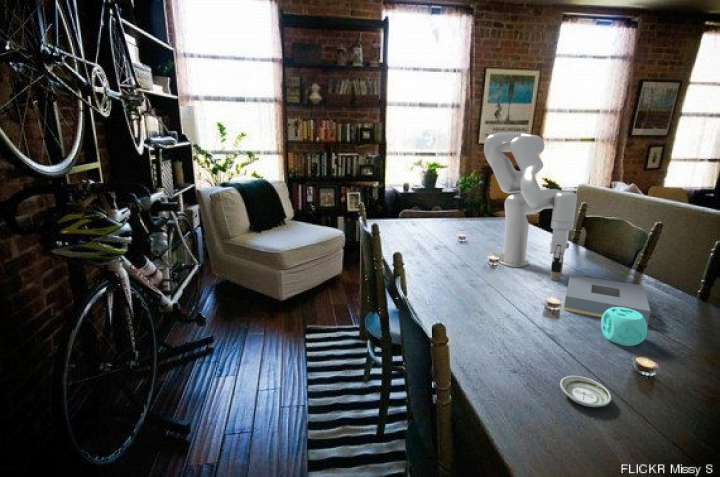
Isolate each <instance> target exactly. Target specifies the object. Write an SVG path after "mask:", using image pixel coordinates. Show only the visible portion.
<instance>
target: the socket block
mask: <svg viewBox="0 0 720 477" xmlns="http://www.w3.org/2000/svg"><path fill="white" fill-rule="evenodd" d="M646 294H647V293H646V290H645V287H644V285H641V284H640V285H639V284H635V283H626V282H622V281H621V282H620V281H613V280H608V279H601V278H600V279H599V278H594V277H586V276H581V275H575V274H570V275H569V279H568V284H567V288H566V294H565V299H564V306H563V307H564V308H563V310H564V311H567V312H570V313H571V312H572V313H576V314H577V313H578V314H582V315H588V316H593V317H597V318H602V315H603V313H604V312H605V311H606V310H608V309H609V308H612V307H624V308H628V309H632V310H635V311H637V312H639V313H640V314H642V316H643V317H644V318H645V321H646V324H647V327H648V325H649V321H650V315H651V308H650V305H649V300H648V297H647V295H646Z"/></svg>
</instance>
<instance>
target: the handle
mask: <svg viewBox="0 0 720 477" xmlns="http://www.w3.org/2000/svg"><path fill="white" fill-rule="evenodd" d="M549 243H550V247H551V242H549ZM569 248H570V243H568V242H567V245H566V249H569ZM560 249H561V248H560ZM555 254H556V253H555ZM552 255H553V256H552V260H551V262H552V261H553V257H554V253H553V254H552ZM559 255H561V253H560V254H559ZM559 257H560V256H559ZM561 263H562V265H561V272H560V273H559V272H552V271H551V270H550V279H551V280H552V281H555V282H556V281H560V280H561V276H562V272H563V265H564V255H563V256H562V259H561ZM551 268H552V263H551V266H550V269H551Z"/></svg>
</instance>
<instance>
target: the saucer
mask: <svg viewBox="0 0 720 477" xmlns="http://www.w3.org/2000/svg"><path fill="white" fill-rule="evenodd" d="M559 387H560V389H561V391H562V393H564V395H566V396H567V397H568V398H569V399H570V400H572V401H573V402H575V403H577V404H579V405H582V406H585V407H589V408H590V407H591V408H599V407H601V408H602V407H605V406H607V405H609V404H610V403H611V401H612V395H611V393H610V391H609V390H608V389H607V388H606V387H605V386H604V385H603V384H601V383H600V382H598V381H596V380H593V379H591V378H588V377H584V376H580V375H568V376H565V377H563V378H561V379H560V382H559Z"/></svg>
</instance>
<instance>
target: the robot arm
mask: <svg viewBox="0 0 720 477" xmlns="http://www.w3.org/2000/svg"><path fill="white" fill-rule="evenodd" d="M544 150H545V141H544V140H543V138H542V137H541V136H539V135H537V134H536V135H535V134H530V133H526V132H525V133H523V132H517V131H515V132H496V133H492V134H490V135H489V136H487V137H486V139H485V141H484V144H483V153H484V157H485V159H486V161H487V162H488V164H489V166H490V168H491V170H492V171H493V174H494V176H495V179H496V181H497V184H498V186H499V188H500V190H501V191H502V192H503V193H505V194H510V195H508V196H507V197H506V199H505V200H504V214H505V222H504V223H505V224H504V236H503V248H502V249H503V250H502V251H496V250H493V252H492V256H494V257H496V258H499V259H498V263H499V262H500V265H503V266H506V267H511V268H524V267H525V268H526V267H527V266H529V264H530V263H529V260H528V259H526V256H527V246H528V237H529V236H528V235H529V226H530V224H529V221H528V218H527V216H526V215H531V214H532V215H533V214H537V213H540V212H541V211H543V210H545V209H547V210H548V209H552V212H551V214H552V215H551V222H550V228H551V229H552V234H551V242H550V243H551V246H550V250H549V254H550V255H553V254H554V257H553V256H552V259H553V261H552V260H551V264H552V268H551V267H550V272H551V271H552V272H559V273H560V272H561V265H562V263H561V259H562V256H563V257H564V255H565V252H566V245H567V243H568V241H569V235H570V234H569V232H570V231H573V230H574V224H575V216H576V208H577V202H578V195H577V193H575V192H572V191H563V190H561V189H557V188H549V189H541V187H540V186H539V183H538V181H537V179H536V177H535V175H537V174H538V173H539V172H541V170H543V167H544V163H543V161H542V159H541V157H540V154H542V153H543V152H544ZM504 153H511V155H512V156H513V159H514V160H515V163H516V164H517V166H518V168H519V170H516V169H515V167H514V165H513V163H512V162H513V161H511V160H510V158H509V157H508V156H507V155H506V154H504ZM560 248H561V249H560ZM555 253H556V254H555ZM560 253H561V255H559V254H560ZM559 256H560V257H559Z"/></svg>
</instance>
